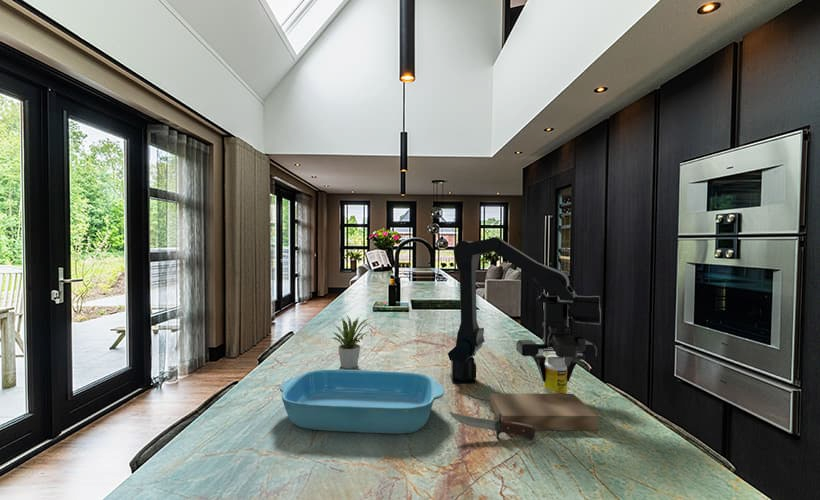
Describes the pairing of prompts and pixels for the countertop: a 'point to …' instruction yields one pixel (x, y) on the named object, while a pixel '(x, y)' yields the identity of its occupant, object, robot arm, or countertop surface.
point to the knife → (497, 425)
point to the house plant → (349, 343)
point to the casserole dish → (360, 400)
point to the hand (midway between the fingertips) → (555, 381)
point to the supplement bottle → (555, 375)
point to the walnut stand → (544, 411)
